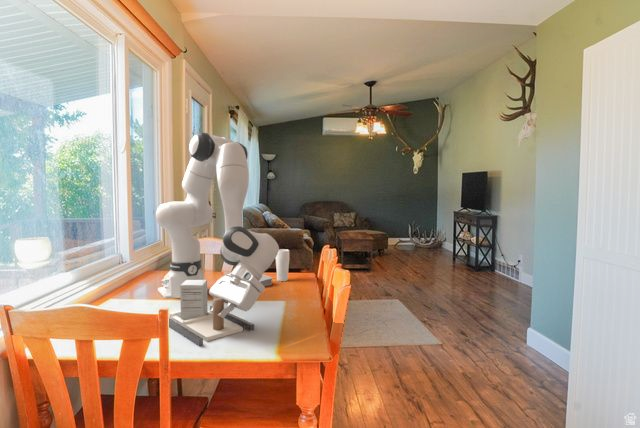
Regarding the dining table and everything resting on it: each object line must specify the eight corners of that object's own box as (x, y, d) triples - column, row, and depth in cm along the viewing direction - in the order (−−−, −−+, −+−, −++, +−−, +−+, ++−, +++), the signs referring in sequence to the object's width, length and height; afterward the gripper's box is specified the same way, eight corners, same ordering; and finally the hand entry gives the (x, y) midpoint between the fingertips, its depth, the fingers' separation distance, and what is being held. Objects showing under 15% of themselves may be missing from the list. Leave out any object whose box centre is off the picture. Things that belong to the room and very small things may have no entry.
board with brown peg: (169, 318, 125) (169, 288, 124) (202, 311, 133) (202, 283, 133) (206, 341, 106) (206, 306, 106) (242, 330, 115) (242, 298, 114)
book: (254, 277, 190) (254, 269, 190) (278, 286, 173) (278, 278, 173) (226, 281, 181) (226, 273, 180) (249, 291, 163) (249, 282, 163)
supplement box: (186, 315, 128) (185, 279, 127) (208, 315, 129) (207, 279, 128) (180, 323, 121) (179, 284, 120) (203, 322, 121) (203, 284, 121)
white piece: (287, 282, 178) (287, 251, 177) (273, 281, 179) (273, 250, 178) (290, 279, 185) (291, 249, 184) (277, 278, 186) (278, 248, 185)
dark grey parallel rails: (162, 322, 122) (162, 316, 121) (212, 310, 134) (212, 305, 134) (199, 346, 103) (199, 339, 103) (254, 330, 116) (254, 324, 116)
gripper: (221, 267, 125) (193, 301, 118) (256, 277, 110) (227, 317, 104) (233, 278, 128) (206, 312, 122) (268, 289, 113) (240, 329, 107)
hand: (216, 314), depth 113 cm, fingers closed on board with brown peg, 3 cm apart
